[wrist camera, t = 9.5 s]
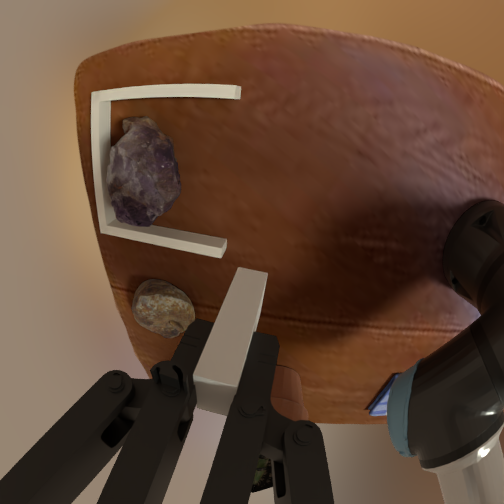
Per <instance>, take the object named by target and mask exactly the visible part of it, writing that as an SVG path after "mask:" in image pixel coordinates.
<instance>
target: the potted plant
mask: <svg viewBox="0 0 504 504" xmlns="http://www.w3.org/2000/svg"><path fill="white" fill-rule="evenodd" d="M271 403H272V405H273V407H274V409H275V410H276V411H277V412H278V413H280V414H281V415H283V416H285V417H287V418H289V419H291V420H293V421H298V420H308V412H307V410H306V409H305V408H304V403H303V395H302V388H301V381H300V376H299V375H298V373H297V372H295V371H294V370H292V369H290V368H287V367H284V366H276V369H275V375H274V380H273V385H272V391H271ZM254 484H255V485H254ZM270 487H273V478H272V466H271V459H269V458H267V457H265V456H263V455H261V454H260V455H259V460H258V464H257V468H256V473H255V477H254V481H253V485H252V489H251V492H252V493H253V492H257V491H261V490H264V489H267V488H270Z"/></svg>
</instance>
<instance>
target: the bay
mask: <svg viewBox="0 0 504 504" xmlns="http://www.w3.org/2000/svg"><path fill="white" fill-rule="evenodd" d="M240 95H241V87H240V86H236V85H219V84H166V85H148V86H136V87H126V88H117V89H109V90H103V91H96V92H92V96H91V143H92V163H93V176H94V186H95V196H96V204H97V211H98V218H99V225H100V231H101V233H104V234H108V235H113V236H117V237H122V238H127V239H131V240H136V241H141V242H145V243H150V244H155V245H159V246H164V247H169V248H173V249H178V250H183V251H188V252H193V253H197V254H202V255H207V256H212V257H217V258H222V256H223V254H224V252H225V250H226V245H227V239H224V238H219V237H214V236H208V235H203V234H198V233H192V232H187V231H182V230H176V229H171V228H165V227H160V226H155V225H150V227H138V226H132V225H129V224H126V223H121V222H119V221H118V220H117V219H116V215H115V212H114V207H112V205H111V201H112V200H111V197H110V195H109V192H108V185H107V182H106V177H107V171H108V169H107V167H108V164H110V151H111V144H110V111H111V100H120V99H132V98H149V97H211V98H229V99H240Z"/></svg>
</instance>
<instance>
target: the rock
mask: <svg viewBox="0 0 504 504" xmlns="http://www.w3.org/2000/svg"><path fill="white" fill-rule="evenodd" d="M123 130H124V133H125V135H124V136H123V137H122V138H121V139H120V140H119V141H118V142H117V143H116V144H115V145H114V146H112V147H111V151H110V164H108V167H107V169H108V171H107V177H106V182H107V185H108V192H109V195H110V197H111V200H112V201H111V205H112V207H114V212H115V214H116V217H117V220H118V221H119V222H121V223H126V224H129V225H132V226H138V227H150V225H151V224H152V223H153V222H154V221H155V219H156V218H157V217H158V216H160V215H162V214H163V213H165V212H167V211H168V210H169V209H171V207H172V205H173V203H174V201H175V200H176V199H177V198H178V196H179V195H180V193H181V183H180V175H179V172H178V163H177V162H176V161H177V159H176V158H175V156H174V147H173V140H172V138H171V137H169V136H167V135H165V134H163V133H162V132H161V130H160V129H159V128H158V126H157V124H156V122H154V121H153V120H151V119H150V118H149V117H147V116H145V117H143V118H138V117H130V118H127V119H124V120H123Z"/></svg>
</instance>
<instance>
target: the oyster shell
mask: <svg viewBox="0 0 504 504" xmlns="http://www.w3.org/2000/svg"><path fill="white" fill-rule="evenodd" d="M131 309H132V312H133V314H134V318H135V320H136V321H137V322H138V323H139V324H140V325H141V326H143V327H145V328H147V329H148V330H150V331H151V332H154V333H159V334H161V335H162V336H163V337H165V338H173V337H176V336H179V334H180V333H183V331H185V330H186V329H187V327H188V325H190V324H191V323H192V322H193V321H195V312H194V307H193V305H192V303H191V301H190V299H189V298H188V297H187V295H186V294H185V293H184V292H183V291H181V290H180V289H178V288H177V287H175V286H173V285H171V284H170V283H169V282H167V281H164V280H159V279H150V280H147V281H145V282H143V283H142V284H141V285H140V286H139V287H138V289H137V290H136V292H135V295H134V299H133V304H132V308H131Z"/></svg>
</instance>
